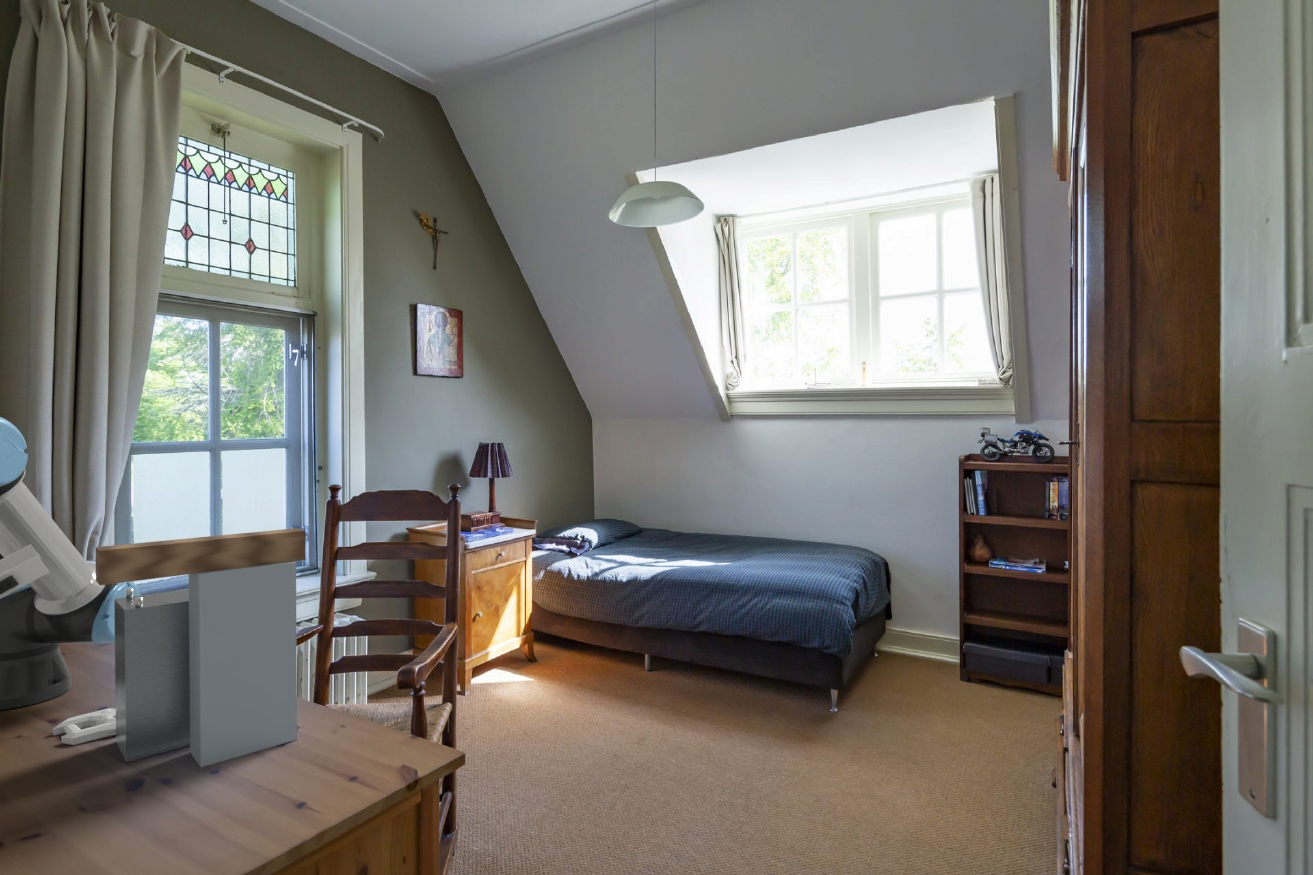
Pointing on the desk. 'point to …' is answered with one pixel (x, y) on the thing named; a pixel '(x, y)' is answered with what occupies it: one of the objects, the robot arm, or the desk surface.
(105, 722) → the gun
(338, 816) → the desk surface
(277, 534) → the rail
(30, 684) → the robot arm
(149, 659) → the plate
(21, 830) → the desk surface
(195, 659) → the stand
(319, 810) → the desk surface
